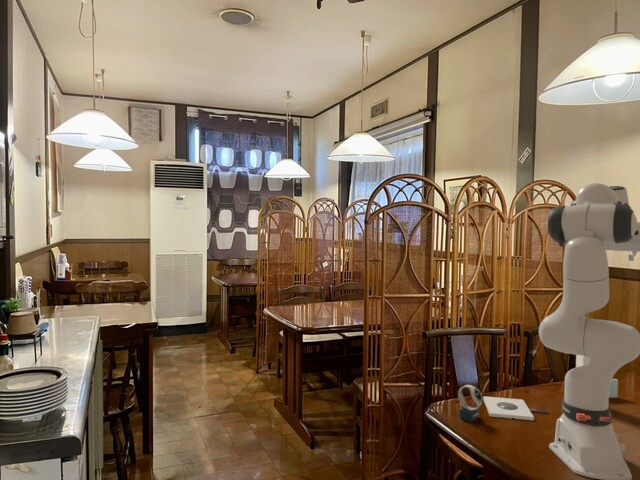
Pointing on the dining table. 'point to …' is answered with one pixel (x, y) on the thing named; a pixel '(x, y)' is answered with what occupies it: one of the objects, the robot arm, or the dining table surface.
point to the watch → (469, 411)
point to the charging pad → (509, 408)
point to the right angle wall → (613, 389)
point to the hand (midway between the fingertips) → (616, 259)
